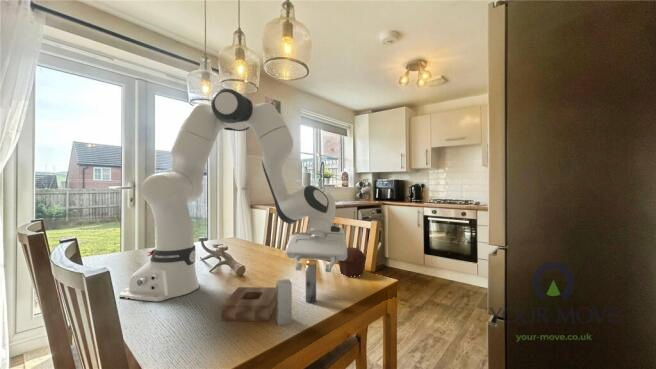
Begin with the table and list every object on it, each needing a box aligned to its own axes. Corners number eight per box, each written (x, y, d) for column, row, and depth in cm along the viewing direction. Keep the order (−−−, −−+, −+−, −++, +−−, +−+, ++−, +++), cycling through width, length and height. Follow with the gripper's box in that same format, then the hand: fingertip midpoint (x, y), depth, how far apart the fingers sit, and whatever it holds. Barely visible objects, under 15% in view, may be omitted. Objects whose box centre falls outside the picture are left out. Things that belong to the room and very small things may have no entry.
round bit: (305, 303, 78) (305, 262, 78) (306, 298, 81) (306, 259, 81) (316, 303, 78) (315, 262, 78) (316, 298, 81) (316, 259, 81)
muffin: (332, 271, 108) (332, 246, 108) (356, 267, 112) (356, 244, 112) (346, 280, 97) (346, 253, 97) (371, 276, 101) (371, 250, 101)
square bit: (278, 325, 66) (278, 285, 66) (276, 319, 69) (276, 280, 69) (291, 323, 67) (291, 283, 67) (289, 317, 70) (289, 279, 70)
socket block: (221, 320, 68) (221, 305, 68) (238, 300, 80) (238, 287, 80) (268, 321, 68) (268, 305, 68) (277, 300, 80) (277, 287, 80)
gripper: (288, 227, 91) (278, 263, 81) (347, 228, 87) (344, 267, 78) (292, 237, 96) (283, 273, 86) (349, 239, 92) (346, 277, 82)
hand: (312, 270), depth 82 cm, fingers open, 8 cm apart
